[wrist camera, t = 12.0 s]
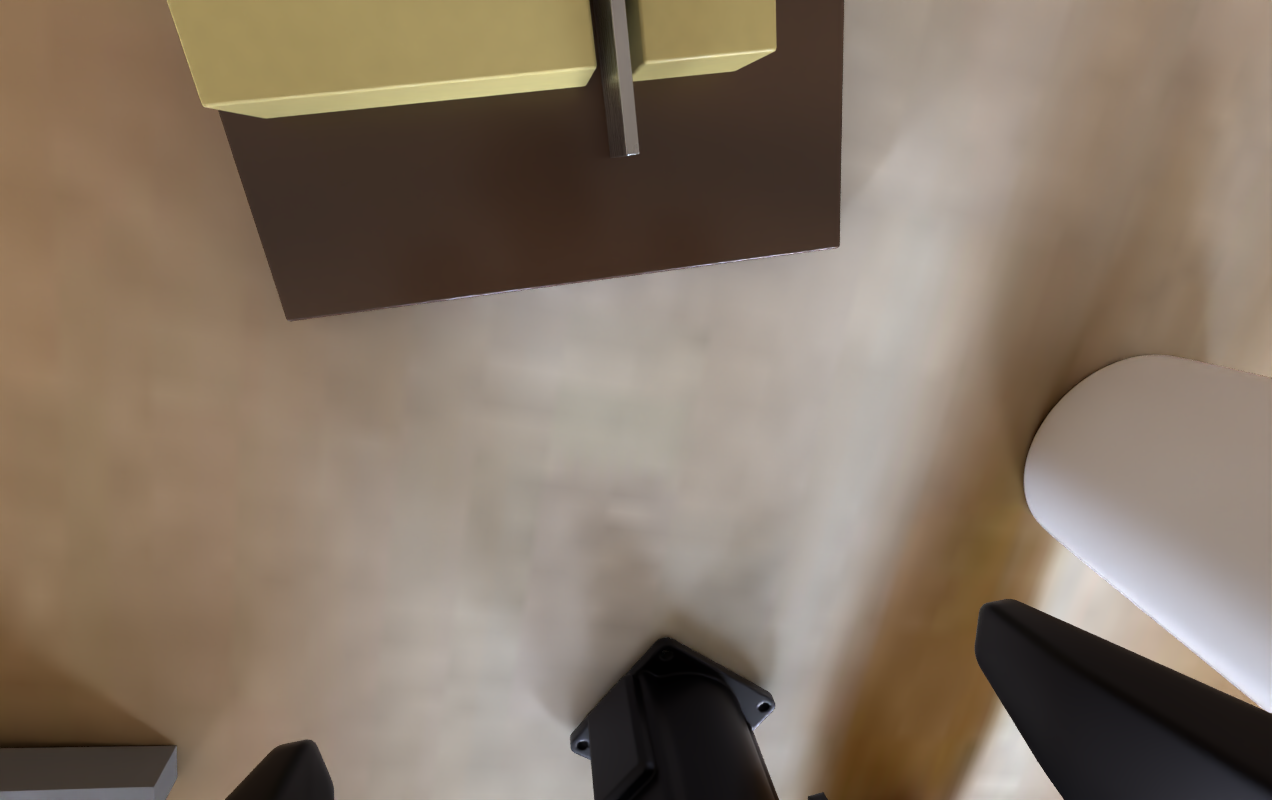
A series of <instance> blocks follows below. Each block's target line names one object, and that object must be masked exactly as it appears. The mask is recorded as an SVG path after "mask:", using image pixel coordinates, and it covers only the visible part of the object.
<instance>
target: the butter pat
mask: <svg viewBox="0 0 1272 800" xmlns="http://www.w3.org/2000/svg"><path fill="white" fill-rule="evenodd" d="M625 5H626V16H627V26H628V36H629V47H630V57H631V68H632V78H633V81H643V80H653V79H663V78H673V77H683V76H692V75H702V74H712V73H722V72H732V71H736V70H738V69H740V68H742V67H744V66H746V65H748V64H750V63H752V62H754V61H756V60H758V59H760V58H762V57H764V56H766V55H768V54H770V53H772V52H774V51H776V47H777V45H776V0H625Z"/></svg>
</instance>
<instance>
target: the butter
mask: <svg viewBox="0 0 1272 800" xmlns="http://www.w3.org/2000/svg"><path fill="white" fill-rule="evenodd" d="M167 3H168V6H169V9H170V12H171V14H172V17H173V20H174V23H175V26H176V29H177V32H178V35H179V38H180V41H181V44H182V47H183V50H184V53H185V56H186V59H187V62H188V65H189V68H190V71H191V74H192V77H193V80H194V83H195V86H196V89H197V92H198V95H199V98H200V101H201V104H202V105H203V107H206V108H211V109H217V110H222V111H227V112H233V113H238V114H244V115H249V116H255V117H260V118H276V117H286V116H296V115H305V114H315V113H325V112H335V111H345V110H355V109H365V108H374V107H384V106H394V105H404V104H414V103H424V102H434V101H443V100H453V99H463V98H473V97H483V96H493V95H503V94H512V93H522V92H532V91H542V90H552V89H562V88H572V87H581V86H586V85H587V83H588V81H589V80H590V78H591V76H592V74H593V73H594V71H595V69H596V66H597V62H596V54H595V45H594V36H593V27H592V19H591V10H590V1H589V0H167Z"/></svg>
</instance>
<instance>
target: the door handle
mask: <svg viewBox="0 0 1272 800" xmlns="http://www.w3.org/2000/svg"><path fill="white" fill-rule="evenodd" d="M176 779H177V746H126V747H61V748H0V800H166V798H167V796H168V794H169V792H170V790H171V789H172V787H173V785H174V783H175V781H176Z"/></svg>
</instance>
